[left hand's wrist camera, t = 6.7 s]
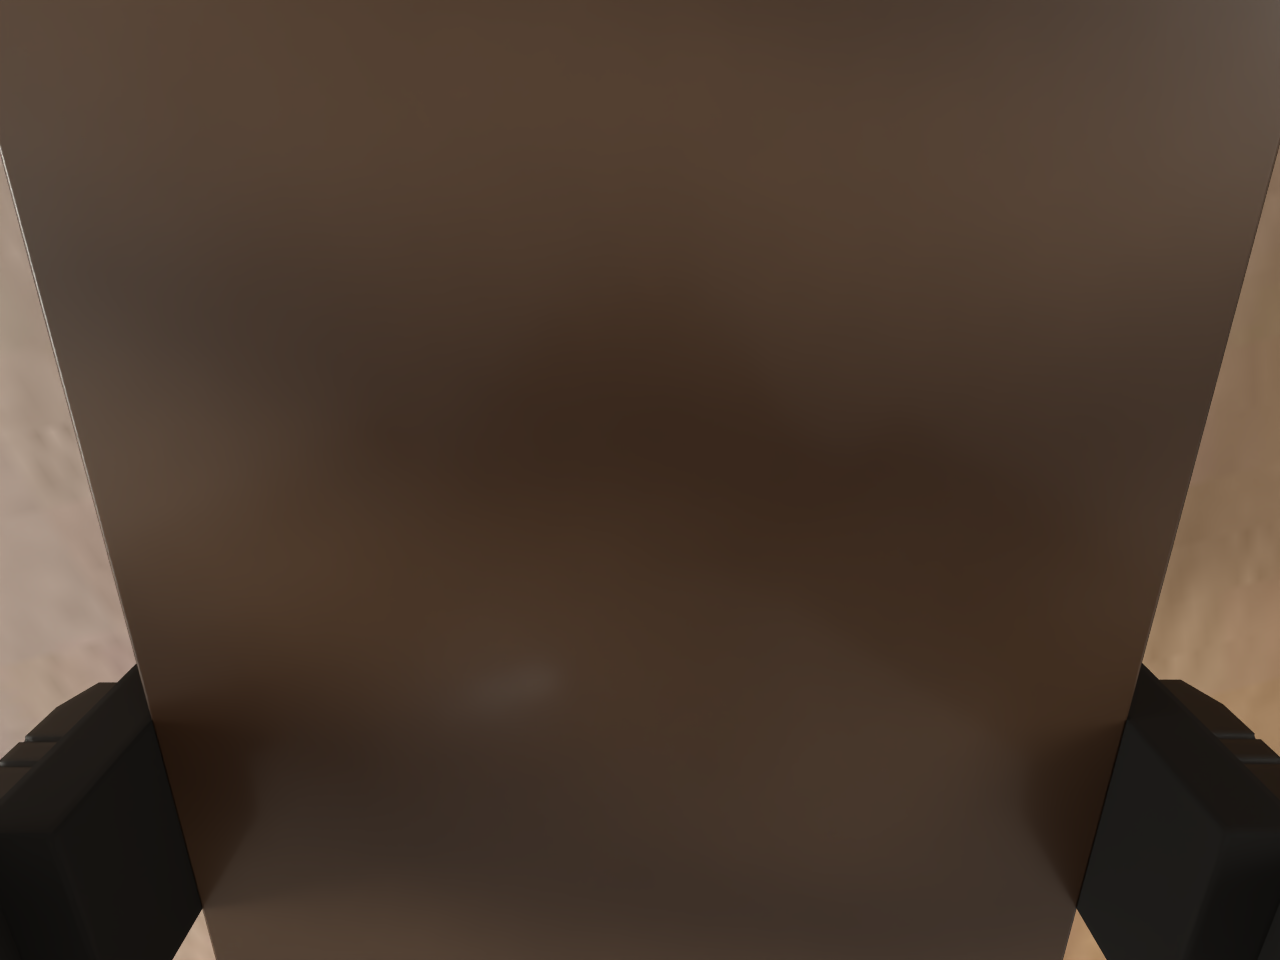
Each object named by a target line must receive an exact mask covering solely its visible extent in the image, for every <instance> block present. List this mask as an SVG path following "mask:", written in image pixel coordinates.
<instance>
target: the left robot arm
mask: <svg viewBox="0 0 1280 960" xmlns="http://www.w3.org/2000/svg"><path fill="white" fill-rule="evenodd" d="M201 910H202V905H201V902H200V898H199V894H198V891H197V887H196V883H195V879H194V876H193V872H192V868H191V864H190V861H189V857H188V853H187V849H186V846H185V842H184V838H183V835H182V831H181V827H180V823H179V820H178V816H177V812H176V808H175V805H174V801H173V797H172V793H171V790H170V786H169V782H168V779H167V775H166V771H165V767H164V764H163V760H162V756H161V752H160V749H159V745H158V741H157V737H156V734H155V730H154V726H153V723H152V719H151V715H150V711H149V708H148V704H147V700H146V696H145V693H144V689H143V685H142V681H141V678H140V674H139V670H138V667H137V664H136V665H135V666H133V667H132V668H131V669H130V670H129V671H128V672H127V673H126V674H125V675H124V676H123V677H122V678H121V679H120V680H119V681H118V682H117V683H97V684H96V685H94V686H92V687H91V688H89V689H87V690H85V691H84V692H82V693H80V694H79V695H77V696H75V697H73V698H72V699H70V700H68V701H67V702H65V703H63V704H62V705H60V706H58V707H56V708H55V709H54V710H53V711H52V712H51V713H50V714H49V715H48V716H47V717H46V718H45V719H44V720H43V721H41V722H40V723H39V724H38V725H37V726H36V727H35V728H34V729H33V730H32V731H31V732H30V733H29V734H28V735H26V736H25V742H19V743H18V744H17V745H16V746H15V747H14V748H13V749H11V750H10V751H9V752H8V753H7V754H6V755H5V756H4V757H3V758H2V759H1V760H0V960H172V959H173V958H174V956H175V954H176V953H177V951H178V949H179V948H180V946H181V944H182V942H183V941H184V939H185V937H186V936H187V934H188V932H189V930H190V929H191V927H192V925H193V924H194V922H195V920H196V919H197V917H198V915H199V913H200V912H201ZM1077 910H1078V911H1079V913H1080V915H1081V917H1082V918H1083V920H1084V922H1085V923H1086V925H1087V927H1088V929H1089V930H1090V932H1091V934H1092V935H1093V937H1094V939H1095V940H1096V942H1097V944H1098V946H1099V947H1100V949H1101V951H1102V952H1103V954H1104V956H1105V958H1106V959H1107V960H1280V757H1279V756H1278V755H1277V754H1276V753H1275V752H1274V751H1273V750H1272V749H1271V748H1270V747H1268V746H1267V745H1266V744H1265V743H1264V742H1263V741H1262V740H1261V739H1255V736H1254V733H1253V732H1252V731H1251V730H1250V729H1249V728H1248V727H1247V726H1246V725H1245V724H1244V723H1243V722H1242V721H1240V720H1239V719H1238V718H1237V717H1236V716H1235V715H1234V714H1233V713H1232V712H1231V711H1230V710H1229V709H1228V708H1226V707H1225V706H1224V705H1223V704H1221V703H1220V702H1218V701H1216V700H1215V699H1213V698H1211V697H1209V696H1208V695H1206V694H1204V693H1203V692H1201V691H1199V690H1197V689H1196V688H1194V687H1192V686H1191V685H1189V684H1187V683H1185V682H1184V681H1182V680H1159V679H1158V678H1157V677H1156V676H1155V675H1154V674H1153V673H1152V672H1151V671H1150V670H1149V669H1148V668H1147V667H1146V666H1145V665H1144V664H1143V663H1142V664H1141V668H1140V672H1139V675H1138V679H1137V683H1136V687H1135V690H1134V694H1133V698H1132V702H1131V705H1130V709H1129V713H1128V717H1127V720H1126V724H1125V728H1124V732H1123V735H1122V739H1121V743H1120V747H1119V750H1118V754H1117V758H1116V762H1115V765H1114V769H1113V773H1112V777H1111V781H1110V784H1109V788H1108V792H1107V796H1106V799H1105V803H1104V807H1103V811H1102V814H1101V818H1100V822H1099V826H1098V829H1097V833H1096V837H1095V841H1094V844H1093V848H1092V852H1091V856H1090V859H1089V863H1088V867H1087V871H1086V875H1085V878H1084V882H1083V886H1082V890H1081V893H1080V897H1079V901H1078V905H1077Z"/></svg>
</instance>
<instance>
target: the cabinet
mask: <svg viewBox="0 0 1280 960" xmlns="http://www.w3.org/2000/svg"><path fill="white" fill-rule="evenodd" d="M1279 145H1280V0H0V155H1V159H2V162H3V166H4V170H5V174H6V177H7V181H8V185H9V189H10V192H11V196H12V200H13V204H14V207H15V211H16V215H17V218H18V222H19V226H20V230H21V233H22V237H23V241H24V245H25V248H26V252H27V256H28V260H29V263H30V267H31V271H32V274H33V278H34V282H35V286H36V289H37V293H38V297H39V301H40V304H41V308H42V312H43V316H44V319H45V323H46V327H47V330H48V334H49V338H50V342H51V345H52V349H53V353H54V357H55V360H56V364H57V368H58V372H59V375H60V379H61V383H62V387H63V390H64V394H65V398H66V401H67V405H68V409H69V413H70V416H71V420H72V424H73V428H74V431H75V435H76V439H77V443H78V446H79V450H80V454H81V457H82V461H83V465H84V469H85V472H86V476H87V480H88V484H89V487H90V491H91V495H92V499H93V502H94V506H95V510H96V513H97V517H98V521H99V525H100V528H101V532H102V536H103V540H104V543H105V547H106V551H107V555H108V558H109V562H110V566H111V569H112V573H113V577H114V581H115V584H116V588H117V592H118V596H119V599H120V603H121V607H122V611H123V614H124V618H125V622H126V625H127V629H128V633H129V637H130V640H131V644H132V648H133V652H134V655H135V659H136V663H137V667H138V670H139V674H140V678H141V681H142V685H143V689H144V693H145V696H146V700H147V704H148V708H149V711H150V715H151V719H152V723H153V726H154V730H155V734H156V737H157V741H158V745H159V749H160V752H161V756H162V760H163V764H164V767H165V771H166V775H167V779H168V782H169V786H170V790H171V793H172V797H173V801H174V805H175V808H176V812H177V816H178V820H179V823H180V827H181V831H182V835H183V838H184V842H185V846H186V849H187V853H188V857H189V861H190V864H191V868H192V872H193V876H194V879H195V883H196V887H197V891H198V894H199V898H200V902H201V905H202V909H203V913H204V917H205V920H206V924H207V928H208V932H209V935H210V939H211V943H212V947H213V950H214V954H215V958H216V960H1063V957H1064V953H1065V950H1066V946H1067V942H1068V938H1069V935H1070V931H1071V927H1072V923H1073V920H1074V916H1075V912H1076V908H1077V905H1078V901H1079V897H1080V893H1081V890H1082V886H1083V882H1084V878H1085V875H1086V871H1087V867H1088V863H1089V859H1090V856H1091V852H1092V848H1093V844H1094V841H1095V837H1096V833H1097V829H1098V826H1099V822H1100V818H1101V814H1102V811H1103V807H1104V803H1105V799H1106V796H1107V792H1108V788H1109V784H1110V781H1111V777H1112V773H1113V769H1114V765H1115V762H1116V758H1117V754H1118V750H1119V747H1120V743H1121V739H1122V735H1123V732H1124V728H1125V724H1126V720H1127V717H1128V713H1129V709H1130V705H1131V702H1132V698H1133V694H1134V690H1135V687H1136V683H1137V679H1138V675H1139V672H1140V668H1141V664H1142V660H1143V656H1144V653H1145V649H1146V645H1147V641H1148V638H1149V634H1150V630H1151V626H1152V623H1153V619H1154V615H1155V611H1156V608H1157V604H1158V600H1159V596H1160V593H1161V589H1162V585H1163V581H1164V578H1165V574H1166V570H1167V566H1168V562H1169V559H1170V555H1171V551H1172V547H1173V544H1174V540H1175V536H1176V532H1177V529H1178V525H1179V521H1180V517H1181V514H1182V510H1183V506H1184V502H1185V499H1186V495H1187V491H1188V487H1189V484H1190V480H1191V476H1192V472H1193V468H1194V465H1195V461H1196V457H1197V453H1198V450H1199V446H1200V442H1201V438H1202V435H1203V431H1204V427H1205V423H1206V420H1207V416H1208V412H1209V408H1210V405H1211V401H1212V397H1213V393H1214V390H1215V386H1216V382H1217V378H1218V375H1219V371H1220V367H1221V363H1222V359H1223V356H1224V352H1225V348H1226V344H1227V341H1228V337H1229V333H1230V329H1231V326H1232V322H1233V318H1234V314H1235V311H1236V307H1237V303H1238V299H1239V296H1240V292H1241V288H1242V284H1243V281H1244V277H1245V273H1246V269H1247V265H1248V262H1249V258H1250V254H1251V250H1252V247H1253V243H1254V239H1255V235H1256V232H1257V228H1258V224H1259V220H1260V217H1261V213H1262V209H1263V205H1264V202H1265V198H1266V194H1267V190H1268V187H1269V183H1270V179H1271V175H1272V171H1273V168H1274V164H1275V160H1276V156H1277V153H1278V149H1279Z"/></svg>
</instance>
